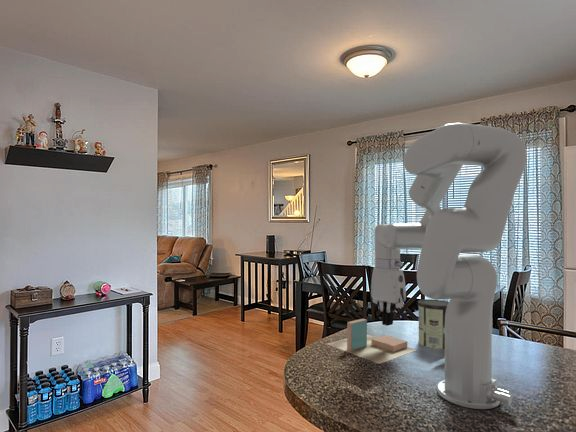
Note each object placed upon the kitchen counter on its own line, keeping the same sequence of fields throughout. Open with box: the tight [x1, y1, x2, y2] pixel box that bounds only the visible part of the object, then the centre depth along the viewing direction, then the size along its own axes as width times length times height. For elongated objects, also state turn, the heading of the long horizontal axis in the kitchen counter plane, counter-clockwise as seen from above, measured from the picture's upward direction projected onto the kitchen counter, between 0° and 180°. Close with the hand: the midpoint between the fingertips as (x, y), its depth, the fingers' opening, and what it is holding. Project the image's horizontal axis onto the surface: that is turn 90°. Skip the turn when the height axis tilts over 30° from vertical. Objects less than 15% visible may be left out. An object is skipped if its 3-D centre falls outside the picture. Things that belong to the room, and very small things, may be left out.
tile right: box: [371, 334, 408, 352], centre depth 112 cm, size 2×7×8 cm
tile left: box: [346, 318, 368, 351], centre depth 111 cm, size 2×7×8 cm, turn 128°
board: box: [326, 334, 417, 365], centre depth 111 cm, size 20×18×1 cm
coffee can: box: [417, 298, 449, 350], centre depth 116 cm, size 10×10×14 cm
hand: (387, 324), depth 113 cm, fingers closed
